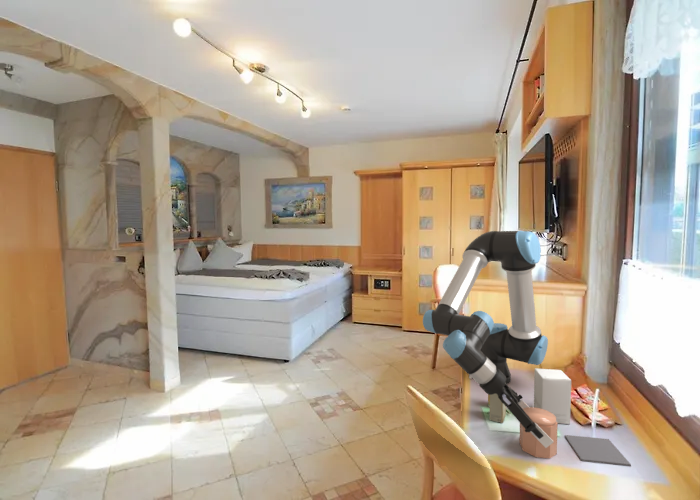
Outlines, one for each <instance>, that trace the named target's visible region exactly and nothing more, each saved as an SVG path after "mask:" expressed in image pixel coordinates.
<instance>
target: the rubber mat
mask: <svg viewBox="0 0 700 500" xmlns="http://www.w3.org/2000/svg"><path fill="white" fill-rule="evenodd" d="M564 437H565V439H566V440H567V442H568V443H569V445H570V446H571V448H572V449H573V451H574V452H575V454H576V455H577V457H578V458H579V459H580V461H581V462H589V463H598V464H608V465H617V466H625V467H632V464H631V463H630V462H629V460H628V459H627V458H626V457H625V456H624V455H623V453H621V451H620V450H619V449H618V448H617V447H616V446H615V445H614V443H613V442H612V441H611V440H610V439H609V438H603V437H602V438H601V437H592V436H591V437H590V436H580V435H579V436H578V435H569V434H565V435H564Z"/></svg>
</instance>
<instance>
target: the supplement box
mask: <svg viewBox="0 0 700 500" xmlns="http://www.w3.org/2000/svg"><path fill="white" fill-rule="evenodd" d="M533 378H534V379H533V380H534V385H533V386H534V387H533V390H534V391H533V407H535V408H540V409H544V410H547V411H549V412H551V413H552V414H554V415H555V417H556V421H557V423H558V424H564V425H571V406H572V405H571V403H572V402H571V401H572V400H571V399H572V398H571V397H572V379H571V378H569V376H568V375H567V374H565V373H564V372H563V371H562V370H561V369H549V368H548V369H547V368H537V367H536V368H535V367H534V375H533Z"/></svg>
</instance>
